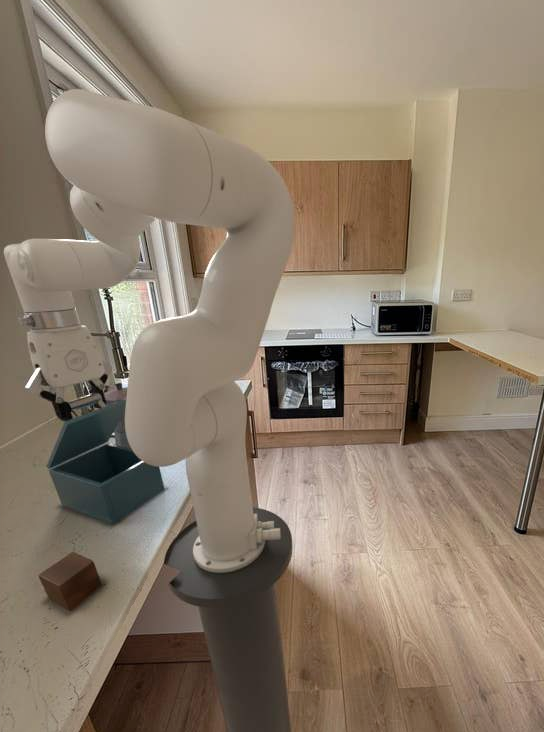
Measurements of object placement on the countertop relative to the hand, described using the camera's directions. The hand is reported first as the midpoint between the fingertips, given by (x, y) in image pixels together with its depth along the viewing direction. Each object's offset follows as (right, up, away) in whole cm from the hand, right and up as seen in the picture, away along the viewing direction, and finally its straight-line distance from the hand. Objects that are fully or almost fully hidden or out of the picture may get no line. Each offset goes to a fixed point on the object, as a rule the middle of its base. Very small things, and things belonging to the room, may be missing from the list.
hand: (84, 413), depth 69 cm
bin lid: (0, -4, +2) cm, 5 cm away
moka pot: (-4, -11, +26) cm, 28 cm away
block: (+10, -28, -16) cm, 33 cm away
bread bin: (+2, -18, +7) cm, 20 cm away
